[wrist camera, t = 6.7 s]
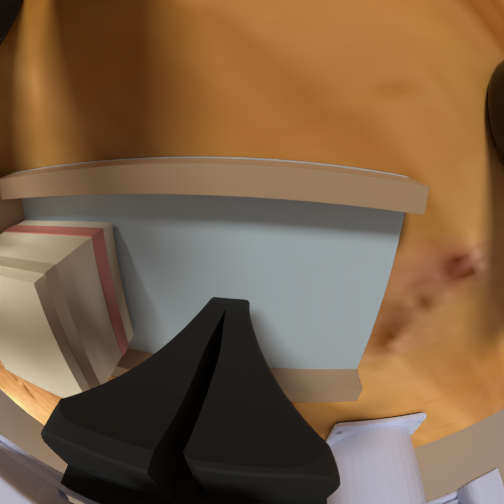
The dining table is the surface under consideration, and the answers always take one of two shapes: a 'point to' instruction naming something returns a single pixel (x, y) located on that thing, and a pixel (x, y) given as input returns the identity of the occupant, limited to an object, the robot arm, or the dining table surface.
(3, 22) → the travel mug
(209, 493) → the robot arm
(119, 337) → the red striped cream box
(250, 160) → the bay
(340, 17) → the dining table surface
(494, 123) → the supplement bottle
